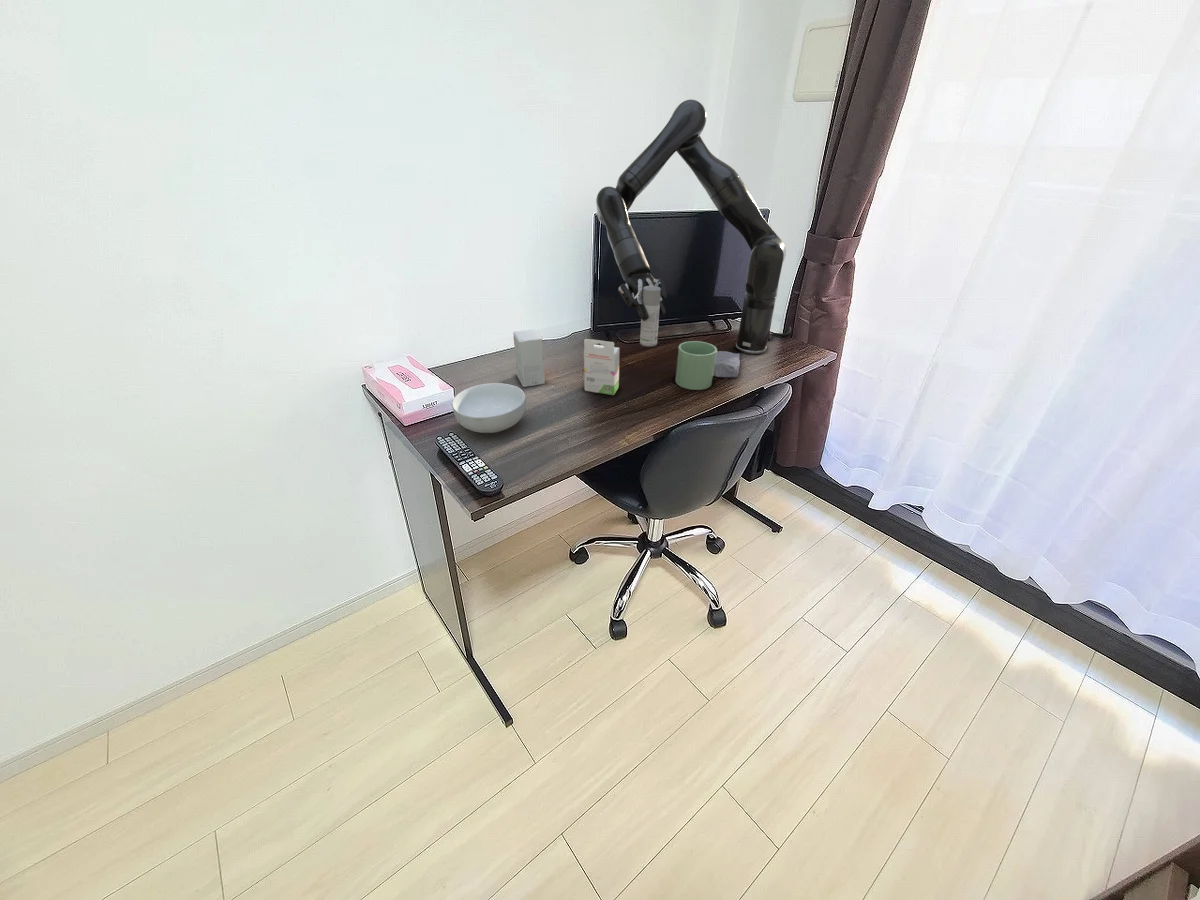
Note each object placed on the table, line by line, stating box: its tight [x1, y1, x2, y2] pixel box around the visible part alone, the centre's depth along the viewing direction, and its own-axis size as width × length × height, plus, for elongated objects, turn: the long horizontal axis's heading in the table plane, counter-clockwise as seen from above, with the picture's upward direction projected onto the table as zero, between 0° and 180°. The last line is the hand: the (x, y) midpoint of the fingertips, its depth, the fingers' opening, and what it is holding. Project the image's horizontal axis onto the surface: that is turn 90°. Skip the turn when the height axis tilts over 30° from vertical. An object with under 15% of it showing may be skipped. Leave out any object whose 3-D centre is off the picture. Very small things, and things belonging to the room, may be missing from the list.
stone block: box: [713, 350, 741, 379], centre depth 146 cm, size 12×5×10 cm
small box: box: [513, 329, 546, 388], centre depth 136 cm, size 8×6×13 cm
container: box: [639, 285, 661, 348], centre depth 132 cm, size 5×5×15 cm
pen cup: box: [674, 340, 718, 391], centre depth 137 cm, size 10×10×10 cm
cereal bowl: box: [451, 382, 527, 434], centre depth 117 cm, size 17×17×7 cm
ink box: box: [583, 338, 621, 396], centre depth 131 cm, size 9×5×15 cm, turn 71°
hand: (654, 317), depth 131 cm, fingers closed on container, 4 cm apart
